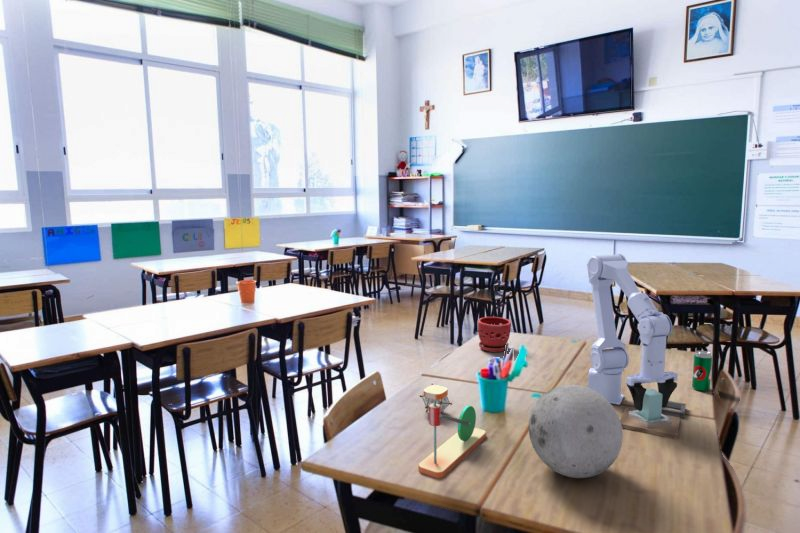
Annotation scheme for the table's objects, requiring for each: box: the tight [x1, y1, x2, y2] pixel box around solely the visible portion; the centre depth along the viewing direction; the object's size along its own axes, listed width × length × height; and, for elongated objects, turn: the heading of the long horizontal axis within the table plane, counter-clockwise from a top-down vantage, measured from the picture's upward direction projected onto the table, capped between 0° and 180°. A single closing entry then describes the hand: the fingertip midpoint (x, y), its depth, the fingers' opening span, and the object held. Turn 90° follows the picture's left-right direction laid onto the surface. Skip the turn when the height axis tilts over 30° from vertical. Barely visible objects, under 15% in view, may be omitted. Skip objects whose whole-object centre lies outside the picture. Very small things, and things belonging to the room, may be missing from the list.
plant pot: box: [477, 316, 512, 353], centre depth 211 cm, size 13×13×12 cm
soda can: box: [691, 350, 713, 392], centre depth 165 cm, size 5×5×12 cm
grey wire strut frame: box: [419, 383, 453, 413], centre depth 151 cm, size 9×8×10 cm
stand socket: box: [661, 400, 686, 419], centre depth 150 cm, size 8×8×2 cm
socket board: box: [619, 407, 681, 440], centre depth 142 cm, size 14×12×2 cm
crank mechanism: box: [417, 384, 487, 479], centre depth 128 cm, size 25×7×19 cm, turn 146°
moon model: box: [528, 384, 624, 479], centre depth 118 cm, size 20×20×20 cm
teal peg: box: [638, 388, 663, 421], centre depth 142 cm, size 4×4×8 cm
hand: (650, 407), depth 142 cm, fingers open, 7 cm apart
